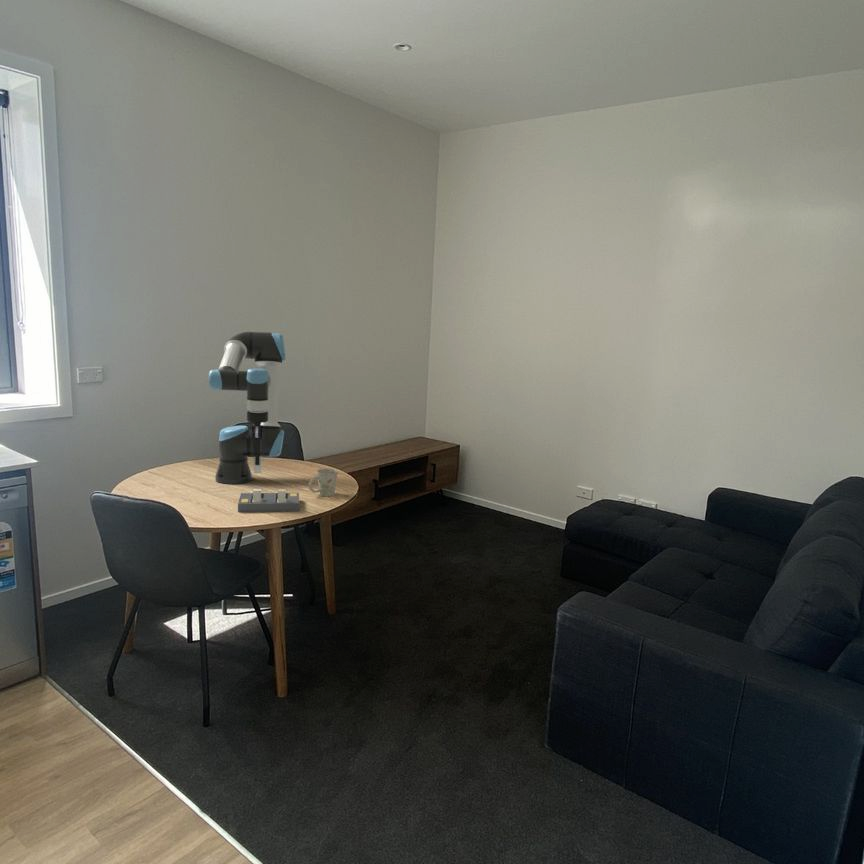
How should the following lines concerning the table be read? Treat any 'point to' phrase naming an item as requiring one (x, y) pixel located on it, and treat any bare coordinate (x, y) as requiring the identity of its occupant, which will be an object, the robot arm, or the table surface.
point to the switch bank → (268, 503)
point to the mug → (325, 482)
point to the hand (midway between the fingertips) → (257, 472)
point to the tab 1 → (257, 496)
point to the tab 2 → (281, 496)
